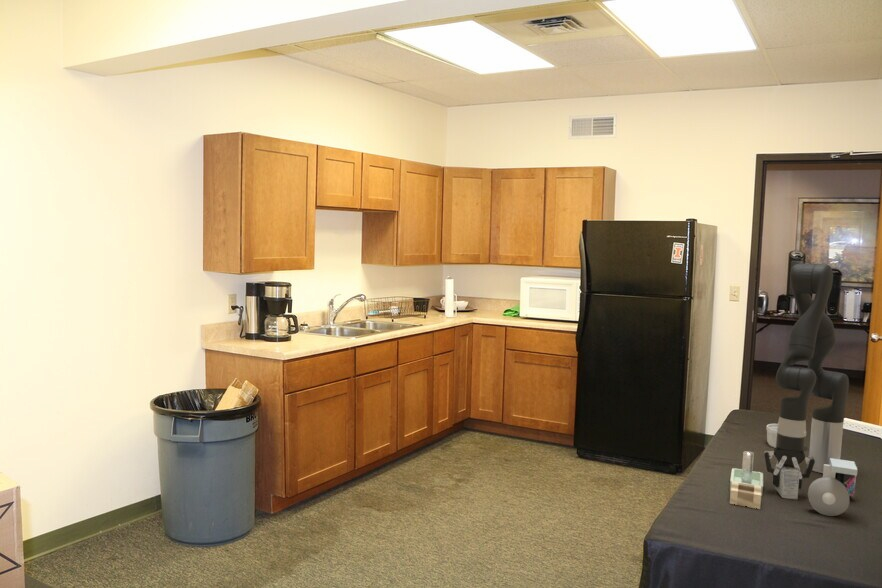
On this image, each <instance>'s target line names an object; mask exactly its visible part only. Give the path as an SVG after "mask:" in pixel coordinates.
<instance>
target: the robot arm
mask: <svg viewBox="0 0 882 588" xmlns="http://www.w3.org/2000/svg"><path fill="white" fill-rule="evenodd" d="M789 280H790V281H789V282H790V286H791V287H790V288H791V290H792V294H793V298H794V301H795V305H796V308H797V312H798V316H799V317H798V318H799V319H798V320H797V321H796V322H795V323H794V324H793V326H792V328H791V330H790V334H789V341H788V345H787V349H786V353H785V355H784V358H783V360H782V361H781V364H780V366H779V367H778V369H777V371H776V374H775V382H776V385H777V386H778V387H779V388H781V389H785V390H791V391H796V392H797V391H798V392H799V395H797V396H785V397H782V398H781V401H780V404H779V418H778V422H777V424H778V428H777V440H776V448H775V449H773V450H770V451H769V450H764V454H763V455H764V460H765V466H766V471H767V472H768V473H771V474H772V486H774V488H775V487H778V473H779V471H780V469H781V468H782V466H789V467H793V468H794V467H795V469H798V471H799V487H798V492H799V490H801V489H802V486H803V485H802V484H803V479H808V478H810V476H811V473H812V471H813V472H816V473H819V474H820V473H821V474H823V468H824V464H827V465H830V464H829V462H830V458H833V459H840V460H841V453H842V442H843V432H844V421H845V414H846V408H847V401H848V400H847V399H848V394H849V389H850V388H849V387H850V380H849V377H848V375H847V374H845V373H843V372H838V371H830V370H825V369H824V368H823V362H824V360H825V359H826V357H827V356H828V355H829V354H830V353H831V352H832V350H833V349H834V347H835V345H836V342H837V341H836V339H837V338H836V332H835V326H834V323H833V321H832V320H831V318H830V317H829V315H828V314H826V312H825V310H826V306H827V304H828V300H829V297H830V295H831V292H832V287H833V282H834V272H833V268H832V266H830V265H829V264H826V263H796V264H794V265H793V266H792V267H791V268H790V272H789ZM811 295H814V299H813V298H812V296H811ZM805 361H807V367H803V366H798V365H797V366H796V365H795V364H796V363H798V362H805ZM811 395H812V396H814V397H816V398H820V399H821V398H822V399H825V400H831V404H830V405H827V406H820V407H815V408H814V409H812V413H811V426H810V438H809V446H808V447H809V448H808V456H807V455H806V454H805V442H806V436H807V421H806V420H807V409H808V405H809V404H808V403H809V400H810V396H811ZM805 435H806V436H805ZM773 456H774V457H775V459H776V460H777V462H776V464H775V467H773V466H772V464H771V459H773ZM804 460H805V464H806V468H805V470H804V472H802V471H801V467H800V464H801V463H803V462H804Z"/></svg>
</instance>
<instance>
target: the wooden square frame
mask: <svg viewBox="0 0 882 588" xmlns="http://www.w3.org/2000/svg"><path fill="white" fill-rule="evenodd" d="M729 494H730V496H729V504H730V505H734V504H735V506H740V507H741V506H742V507H745V506H747V508H750V509H751V508H752V509H756V508H757V509H758V510H761V503H762V497H761V486H755V485H749V484H743V483H738V482H732V484H731V491H730V493H729ZM757 509H756V510H757Z"/></svg>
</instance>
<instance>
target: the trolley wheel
mask: <svg viewBox="0 0 882 588" xmlns="http://www.w3.org/2000/svg"><path fill="white" fill-rule="evenodd" d="M829 464H830V465H827V464H824V468H823V473H822V477H819V478H816V479H814V480H813V481H812V482H811V483H810V484H809V487H808V489H807V498H808V501H809V504H810V505H811V507H812V508H813V510H815V511H816V512H817V513H819V514H820V515H824V516H825V517H826V516H827V517H828V516H829V517H834V516H839V515H841V514H843V513H844V512H846V510H847V509H848V507H849V506H850V501H849V495H848V492H847V489H846V488H845V486H844V485H843V484H842V483H841V482H840V481H838V480H836V479H835V474H836V472H837V473H843V474H850V475H856V477H857V476H858V466H857V467H856V465H857V464H856V462H855V461H853V460H846V459H841V458H840V459H833V458H830V462H829ZM855 464H856V465H855Z"/></svg>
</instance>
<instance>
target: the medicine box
mask: <svg viewBox="0 0 882 588" xmlns="http://www.w3.org/2000/svg"><path fill="white" fill-rule="evenodd" d="M798 487H799V471H798V469H795V467H794V468H793V467H789V466H782V468H781V469H780V471H779V473H778V487H775V486H774V489H775V490H776V492H777V493H778V494H779V496H780V497H781V498H782V499H787V500H788V499H789V500H796V501H797V500H798V499H799V498H798V497H799V491H798Z"/></svg>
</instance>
